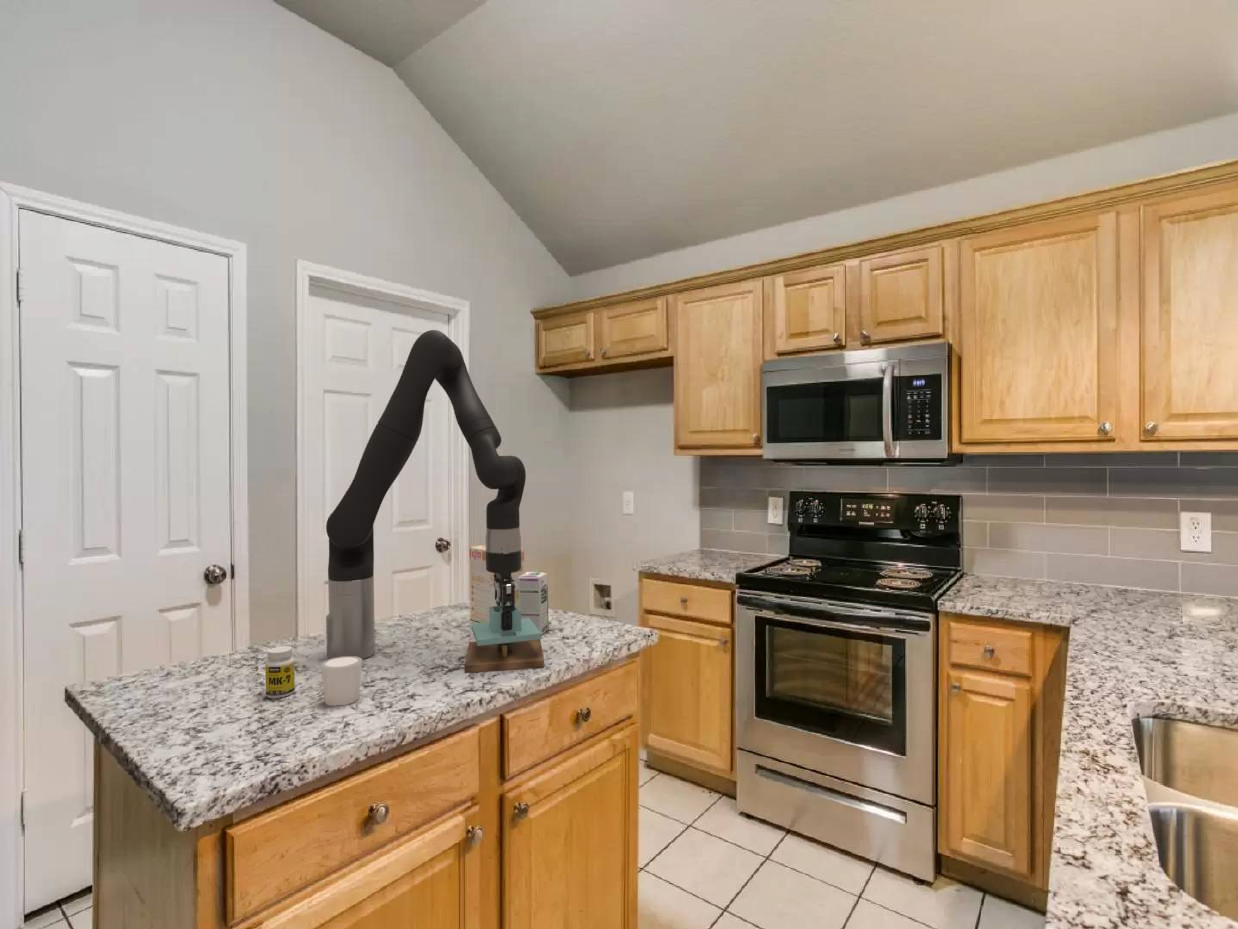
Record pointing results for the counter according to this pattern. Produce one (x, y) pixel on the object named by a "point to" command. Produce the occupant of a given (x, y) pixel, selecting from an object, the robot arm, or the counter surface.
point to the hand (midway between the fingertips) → (504, 625)
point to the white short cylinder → (341, 679)
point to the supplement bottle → (280, 672)
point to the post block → (504, 656)
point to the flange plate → (495, 635)
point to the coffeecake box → (485, 584)
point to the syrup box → (534, 599)
